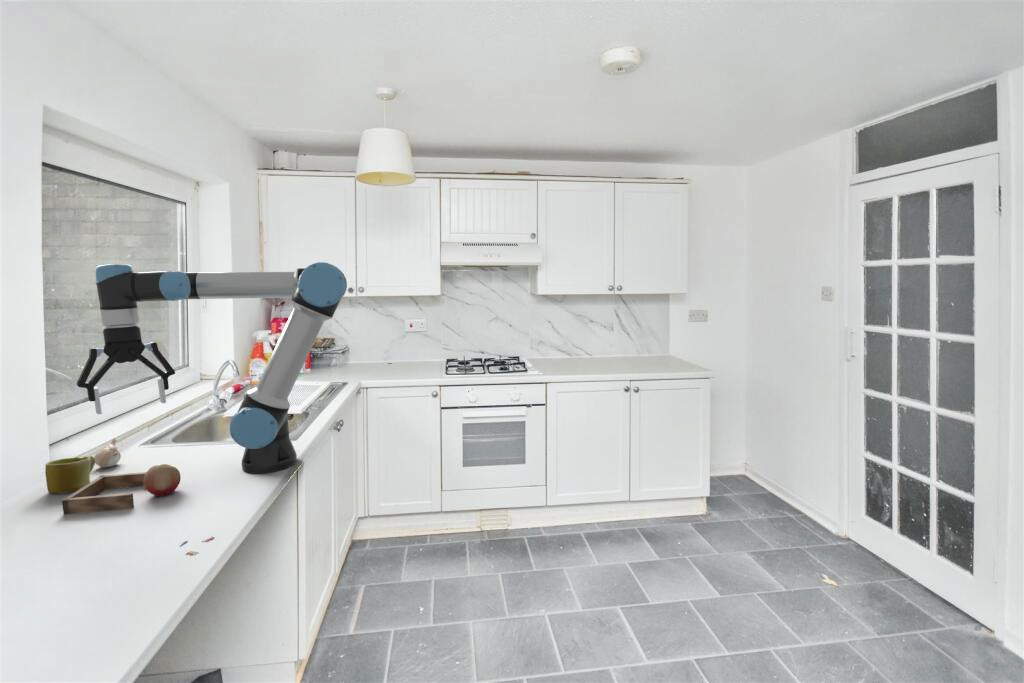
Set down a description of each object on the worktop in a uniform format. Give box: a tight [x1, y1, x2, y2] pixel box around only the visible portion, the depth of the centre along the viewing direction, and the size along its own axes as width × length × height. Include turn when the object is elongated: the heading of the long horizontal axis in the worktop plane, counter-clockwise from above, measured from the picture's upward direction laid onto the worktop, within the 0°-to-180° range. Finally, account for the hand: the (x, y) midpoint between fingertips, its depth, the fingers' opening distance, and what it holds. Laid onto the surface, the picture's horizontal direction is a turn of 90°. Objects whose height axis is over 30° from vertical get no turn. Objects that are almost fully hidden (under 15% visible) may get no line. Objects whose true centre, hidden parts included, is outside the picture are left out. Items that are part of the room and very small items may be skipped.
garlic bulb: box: [93, 437, 122, 469], centre depth 154 cm, size 7×6×8 cm
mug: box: [44, 455, 96, 495], centre depth 138 cm, size 12×10×10 cm
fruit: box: [143, 463, 182, 497], centre depth 134 cm, size 8×8×8 cm
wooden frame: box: [61, 471, 147, 515], centre depth 132 cm, size 14×16×4 cm
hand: (132, 407), depth 132 cm, fingers open, 13 cm apart
